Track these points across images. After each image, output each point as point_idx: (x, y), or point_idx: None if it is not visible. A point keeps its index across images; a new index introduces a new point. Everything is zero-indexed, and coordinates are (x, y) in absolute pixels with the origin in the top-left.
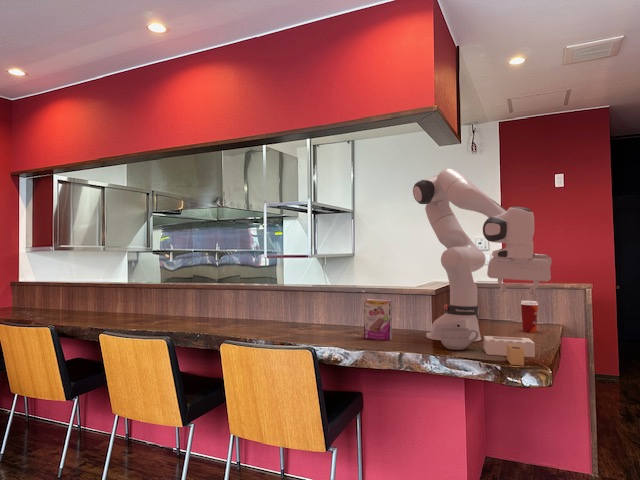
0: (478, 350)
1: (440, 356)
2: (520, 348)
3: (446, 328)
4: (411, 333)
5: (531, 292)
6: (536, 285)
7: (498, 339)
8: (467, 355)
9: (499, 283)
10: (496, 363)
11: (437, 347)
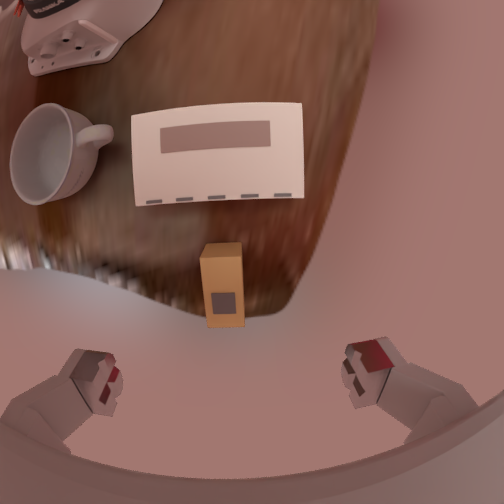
0: None
1: (59, 264)
2: (237, 307)
3: (25, 126)
4: (16, 35)
5: (351, 380)
6: (412, 421)
7: (177, 167)
8: (105, 230)
9: (55, 430)
10: (177, 298)
11: None
